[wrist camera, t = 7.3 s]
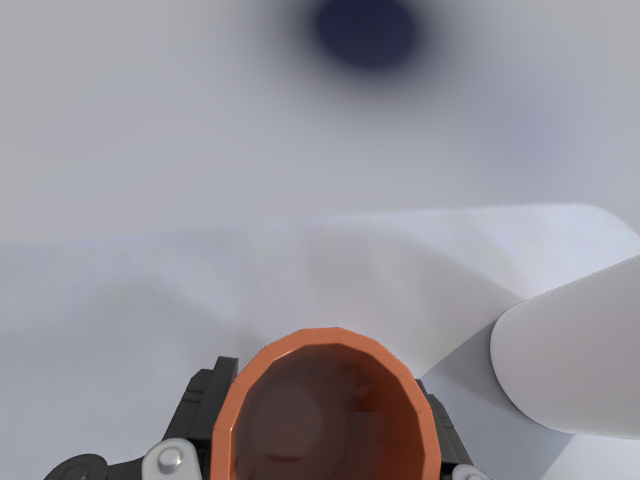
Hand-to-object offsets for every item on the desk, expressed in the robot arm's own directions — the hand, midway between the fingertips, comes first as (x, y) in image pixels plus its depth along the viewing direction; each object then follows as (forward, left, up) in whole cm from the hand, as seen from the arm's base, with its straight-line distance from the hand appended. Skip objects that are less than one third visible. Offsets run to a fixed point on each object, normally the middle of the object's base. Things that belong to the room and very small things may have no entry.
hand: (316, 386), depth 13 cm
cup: (+1, -1, -6) cm, 7 cm away
